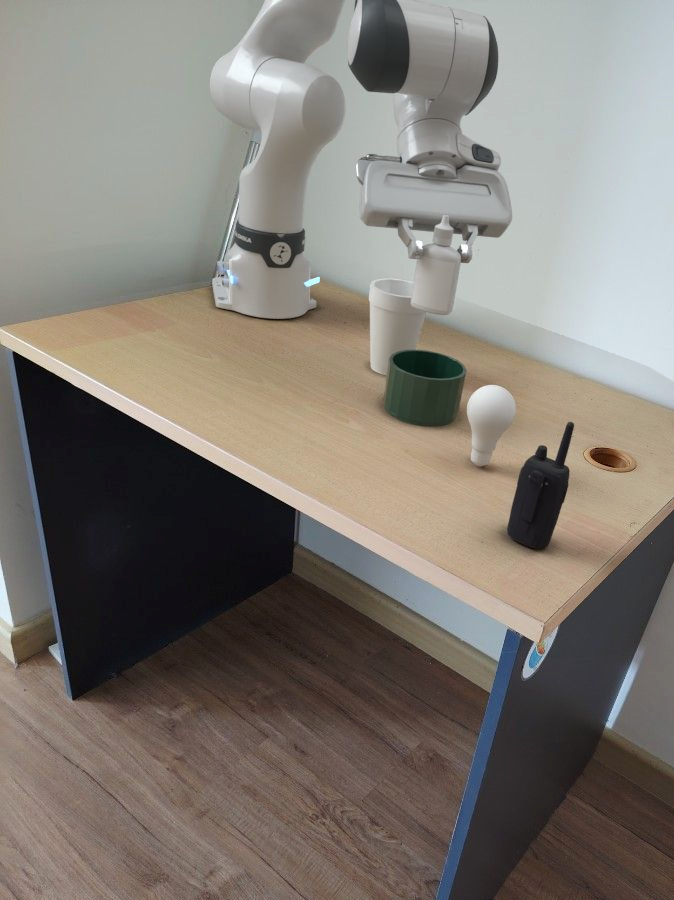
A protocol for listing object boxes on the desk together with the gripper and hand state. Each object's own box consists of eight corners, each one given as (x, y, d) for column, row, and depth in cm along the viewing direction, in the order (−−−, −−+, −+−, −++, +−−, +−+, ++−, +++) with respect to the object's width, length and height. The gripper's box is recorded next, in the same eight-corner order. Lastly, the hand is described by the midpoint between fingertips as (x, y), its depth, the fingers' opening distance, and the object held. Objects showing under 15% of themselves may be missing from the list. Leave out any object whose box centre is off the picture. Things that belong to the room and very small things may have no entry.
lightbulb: (463, 449, 102) (479, 372, 96) (506, 463, 101) (526, 385, 95) (449, 468, 97) (465, 388, 91) (494, 482, 96) (514, 402, 90)
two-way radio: (554, 544, 86) (591, 424, 77) (538, 560, 82) (574, 436, 74) (512, 524, 88) (543, 405, 80) (494, 539, 85) (524, 417, 76)
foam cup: (382, 383, 117) (393, 299, 110) (349, 360, 123) (358, 279, 116) (430, 376, 122) (443, 295, 115) (396, 355, 128) (408, 277, 121)
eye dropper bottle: (432, 318, 99) (448, 222, 93) (405, 304, 103) (418, 210, 96) (456, 315, 102) (473, 221, 95) (429, 301, 105) (443, 209, 98)
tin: (371, 395, 113) (376, 350, 109) (435, 391, 117) (443, 348, 114) (403, 429, 105) (410, 381, 101) (471, 423, 110) (480, 377, 106)
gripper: (360, 136, 94) (368, 238, 92) (511, 155, 100) (522, 252, 98) (349, 168, 100) (357, 265, 98) (492, 184, 106) (502, 276, 104)
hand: (441, 258), depth 98 cm, fingers closed on eye dropper bottle, 5 cm apart
